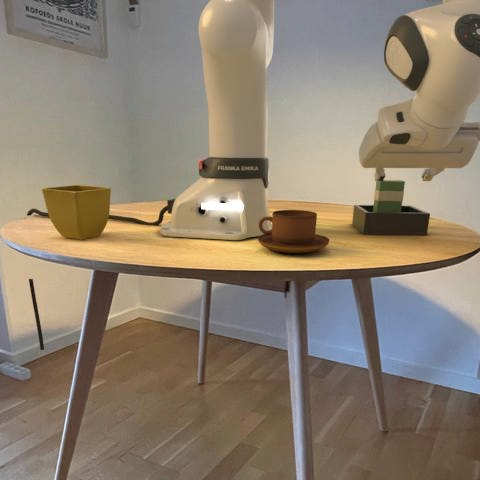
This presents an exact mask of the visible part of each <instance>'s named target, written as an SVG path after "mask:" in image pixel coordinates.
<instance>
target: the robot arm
mask: <svg viewBox="0 0 480 480" xmlns="http://www.w3.org/2000/svg"><path fill="white" fill-rule="evenodd" d="M274 35H275V0H209V1H208V3H207V4H206V5H205V7H204V8H203V10H202V12H201V14H200V16H199V21H198V38H199V39H198V40H199V43H200V49H201V62H202V71H203V82H204V87H205V95H206V101H207V110H208V111H207V112H208V113H207V114H208V148H209V149H208V153H209V155H208V157H207V158H201V159H200V160H199V161H198V175H199V178H198V179H197V180H196V181H195V182H193V183H192V184H191V185H189V186H188V187H187V188H186V189H185V190H183V192H182V193H180V194H179V195H178V196H177V197H176V198H171V199H167V201H166V202H167V204H166V206H164V207H162V209H160V210H159V214H158V219H157V220H155V221H152V222H149V221H146V220H143V219H139V218H136V217H131V216H130V217H129V216H121V215H114V214H109V218H108V220H112V221H113V220H115V221H120V222H121V221H122V222H130V223H134V224H138V225H141V226H153V227H154V226H156V227H157V226H159V225H161V224H162V223H163V221H164V215H165V214H166V213H167V214H170V215H171V216H170V220H169V221H167V222H165V223H163V224H162V225H161V227H160V230H159V231H160V233H159V234H160V235H162V236H164V237H174V238H190V239H191V238H193V239H207V240H208V239H210V240H226V241H227V240H229V241H241V240H245V239H249V238H254V237H259V236H260V235H263V234H264V233H262V232H261V231H260V229H259V221H260V219H261V218H263V217H266V216H269V217H271V216H270V210H269V202H268V201H269V200H268V187H269V184H270V160H269V158H268V129H269V110H268V109H269V108H268V89H267V88H268V87H267V86H268V85H267V68H268V67H269V65H270V63H271V61H272V58H273V53H274V39H275V38H274V37H275V36H274ZM383 50H384V51H383V61H384V65H385V67H386V69H387V70H388V72H389V73H390V74H391V75H392V76H393V77H394V78H395V80H397V81H398V82H399V83H400V84H401V85H402V86H404V88H406V89H408V90H409V91H411V92H414V93H415V95H414V97H413V98H410V99H408V100H405V101H402V102H398V103H395V104H392V105H386V106H383V107H381V108H379V109H378V112H377V114H376V119H377V120H376V121H375V122H374V123H372V124H371V125H370V126H369V128H368V129H367V131H366V133H365V135H364V136H363V139H362V140H361V143H360V145H359V148H358V160H359V163H360V165H361V167H362V168H364V169H374V170H375V172H374V181H375V182H376V181H383V180H385V178H386V176H387V175H386V172H385V169H423V172H422V173H421V179H422V182H431V181H432V180H433V178H434V177H436V176H437V175H439V174H441V173H442V172H444V171H445V170H446V169H462V168H464V167H466V166H468V165H469V164H470V162H471V161H472V159H473V157H474V155H475V153H476V151H477V149H478V146H479V143H480V122H479V121H474V122H468V121H465V120H466V118H467V117H468V113H469V109H470V108H471V106H472V105H473V104H474V103H475V102H476V101H477V100H478V99H479V97H480V0H442V3H440V4H436V5H433V6H428V7H423V8H420V9H416V10H413V11H411V12H410V11H409V12H407V13H405V14H402V15H399V16H398V17H397V18H396V19H395V20H394V21H393V23H392V24H391V25H390V27H389V30H388V33H387V35H386V37H385V41H384V48H383ZM34 213H35V214H36V215H39V216H40V217H45V218H50V217H49V214H48V212H44V211H41V210H39V209H37V208H30V209H29V210H28V211H27V213H26V216H30V217H31V216H32V215H33V214H34ZM262 227H263V229H264V230H266V231H268V230H271V229H272V222H271V221H269V220H266V221H264V222H263V223H262ZM28 283H29V290H30V294H31V302H32V306H33V307H32V308H33V312H34V318H35V323H36V329H37V330H36V331H37V336H38V341H39V349H40V351H44V350H45V345H44V337H43V331H42V325H41V319H40V313H39V307H38V302H37V297H36V291H35V285H34V278H28Z"/></svg>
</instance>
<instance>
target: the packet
mask: <svg viewBox="0 0 480 480" xmlns="http://www.w3.org/2000/svg"><path fill="white" fill-rule="evenodd" d="M405 185H406V181H405V180H401V179H384V180H383V181H375V188H374V195H373V205H374V206H373V212H398V213H401V208H402V206H403V201H404V195H405V194H404V193H405Z"/></svg>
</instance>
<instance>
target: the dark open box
mask: <svg viewBox="0 0 480 480" xmlns="http://www.w3.org/2000/svg"><path fill="white" fill-rule="evenodd" d="M373 206H374V204H354V205H353V210H352V211H353V213H352V222H351V225H352V226H353V227H354V228H356V230H358V232H360V233H361V234H362V235H375V236H377V235H378V236H379V235H381V236H382V235H383V236H428V230H429V223H430V218H431V217H430V216H431V213H430V212H428V211H425V210H423V209H421V208H418V207H416V206H413V205H402V208H401V213H398V212H373Z"/></svg>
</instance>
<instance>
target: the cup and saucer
mask: <svg viewBox="0 0 480 480" xmlns="http://www.w3.org/2000/svg"><path fill="white" fill-rule="evenodd" d="M271 215H272V216H270V215H269V216H270V217H269V216H266V217H263V218H261V219H260V221H259V229H260V231H261V232H262V233H264V234H263V235H260V236H257V241H258V243H259V244H260V245H261V246H262V247H264V248H266V249H268V250H271V251H274V252H280V253H285V254H286V253H287V254H304V253H305V254H306V253H312V252H317V251H320V250H322V249H324V248H326V247H327V246H328V245H329V243H330V238H328V237H327V236H324V235H322V234H317V233H316V231H317V220H318V219H317V218H318V213H317V212H315V211H311V210H303V209H280V210H275V211H274V210H273V212H272V214H271ZM266 220H269V221H271V226H272V229H271V230H268V231H266V230H264V229H263V227H262V223H263V222H264V221H266Z"/></svg>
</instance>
